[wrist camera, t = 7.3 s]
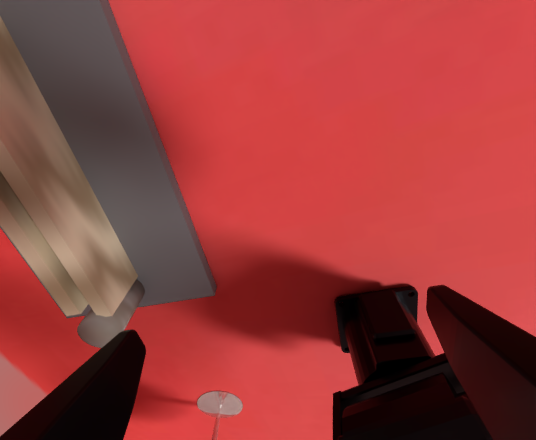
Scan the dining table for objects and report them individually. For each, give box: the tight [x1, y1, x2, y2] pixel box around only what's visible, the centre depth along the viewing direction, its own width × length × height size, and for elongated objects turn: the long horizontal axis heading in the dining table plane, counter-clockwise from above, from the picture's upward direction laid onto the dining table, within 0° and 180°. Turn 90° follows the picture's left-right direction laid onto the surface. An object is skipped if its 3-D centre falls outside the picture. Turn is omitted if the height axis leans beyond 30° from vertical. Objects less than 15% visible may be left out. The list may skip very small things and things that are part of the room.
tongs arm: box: [0, 171, 88, 316], centre depth 16 cm, size 17×1×4 cm, turn 12°
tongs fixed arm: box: [0, 16, 145, 348], centre depth 17 cm, size 20×3×4 cm, turn 12°
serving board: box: [0, 0, 217, 318], centre depth 19 cm, size 22×13×1 cm, turn 12°
